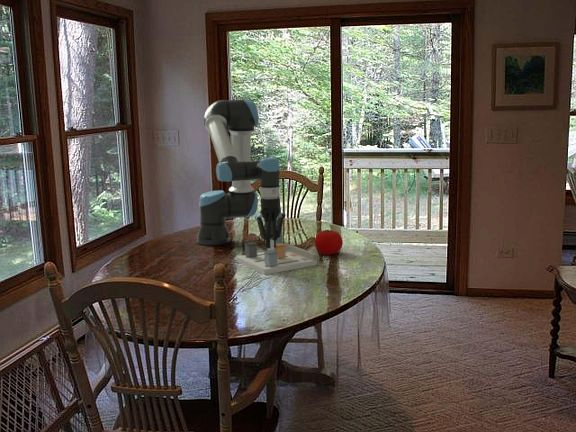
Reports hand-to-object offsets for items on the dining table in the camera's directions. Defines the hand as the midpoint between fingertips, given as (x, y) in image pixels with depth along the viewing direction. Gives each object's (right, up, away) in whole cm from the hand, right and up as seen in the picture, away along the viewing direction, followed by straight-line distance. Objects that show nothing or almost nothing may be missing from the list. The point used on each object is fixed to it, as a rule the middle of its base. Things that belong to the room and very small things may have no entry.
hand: (270, 255), depth 239 cm
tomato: (+24, -1, +15) cm, 29 cm away
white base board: (+2, -3, +2) cm, 4 cm away
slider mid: (+3, -1, +2) cm, 4 cm away
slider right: (0, -3, -9) cm, 9 cm away
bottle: (+1, +1, +22) cm, 22 cm away
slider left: (-8, 0, +4) cm, 9 cm away
